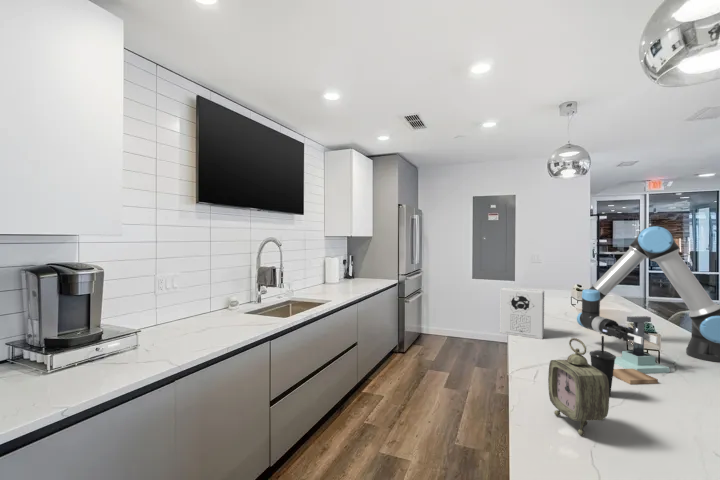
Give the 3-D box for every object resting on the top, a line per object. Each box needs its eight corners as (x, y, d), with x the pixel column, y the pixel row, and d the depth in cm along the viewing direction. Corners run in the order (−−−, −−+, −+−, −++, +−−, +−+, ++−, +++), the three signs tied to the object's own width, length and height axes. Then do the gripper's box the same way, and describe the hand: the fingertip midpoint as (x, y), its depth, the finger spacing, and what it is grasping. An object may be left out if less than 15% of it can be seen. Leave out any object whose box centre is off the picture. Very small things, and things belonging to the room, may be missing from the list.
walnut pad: (632, 372, 145) (632, 368, 145) (657, 383, 134) (657, 379, 134) (607, 373, 144) (607, 369, 144) (630, 384, 133) (630, 380, 133)
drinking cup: (620, 399, 121) (620, 340, 120) (594, 397, 122) (595, 338, 122) (609, 390, 128) (609, 334, 128) (585, 388, 130) (586, 332, 129)
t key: (642, 359, 154) (643, 315, 154) (653, 363, 149) (654, 318, 149) (623, 360, 153) (624, 315, 153) (633, 364, 148) (634, 318, 148)
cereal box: (543, 335, 198) (544, 290, 197) (542, 339, 191) (543, 292, 191) (502, 330, 209) (502, 287, 209) (499, 333, 203) (500, 288, 202)
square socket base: (639, 360, 159) (639, 348, 159) (669, 372, 145) (669, 359, 145) (609, 361, 157) (609, 348, 157) (637, 373, 144) (637, 359, 143)
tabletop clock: (547, 413, 111) (548, 332, 111) (575, 412, 112) (576, 332, 111) (579, 439, 97) (580, 346, 96) (611, 438, 97) (612, 346, 97)
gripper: (624, 333, 170) (670, 349, 147) (586, 334, 168) (627, 350, 145) (624, 318, 170) (671, 331, 147) (586, 318, 168) (627, 331, 145)
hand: (649, 340), depth 146 cm, fingers open, 6 cm apart
